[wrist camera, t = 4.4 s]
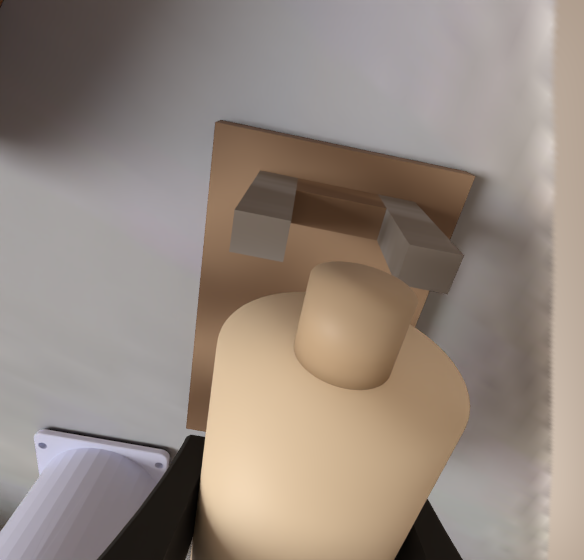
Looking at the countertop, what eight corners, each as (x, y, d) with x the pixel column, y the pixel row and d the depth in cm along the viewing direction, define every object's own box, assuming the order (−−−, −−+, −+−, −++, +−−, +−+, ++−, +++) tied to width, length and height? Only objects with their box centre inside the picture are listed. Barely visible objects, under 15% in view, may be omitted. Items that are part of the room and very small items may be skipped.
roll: (325, 556, 15) (338, 750, 11) (200, 541, 15) (159, 736, 10) (446, 256, 9) (579, 406, 5) (244, 218, 9) (194, 345, 5)
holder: (360, 444, 23) (376, 567, 17) (191, 414, 22) (148, 529, 16) (465, 171, 16) (558, 220, 10) (221, 120, 15) (163, 138, 9)
